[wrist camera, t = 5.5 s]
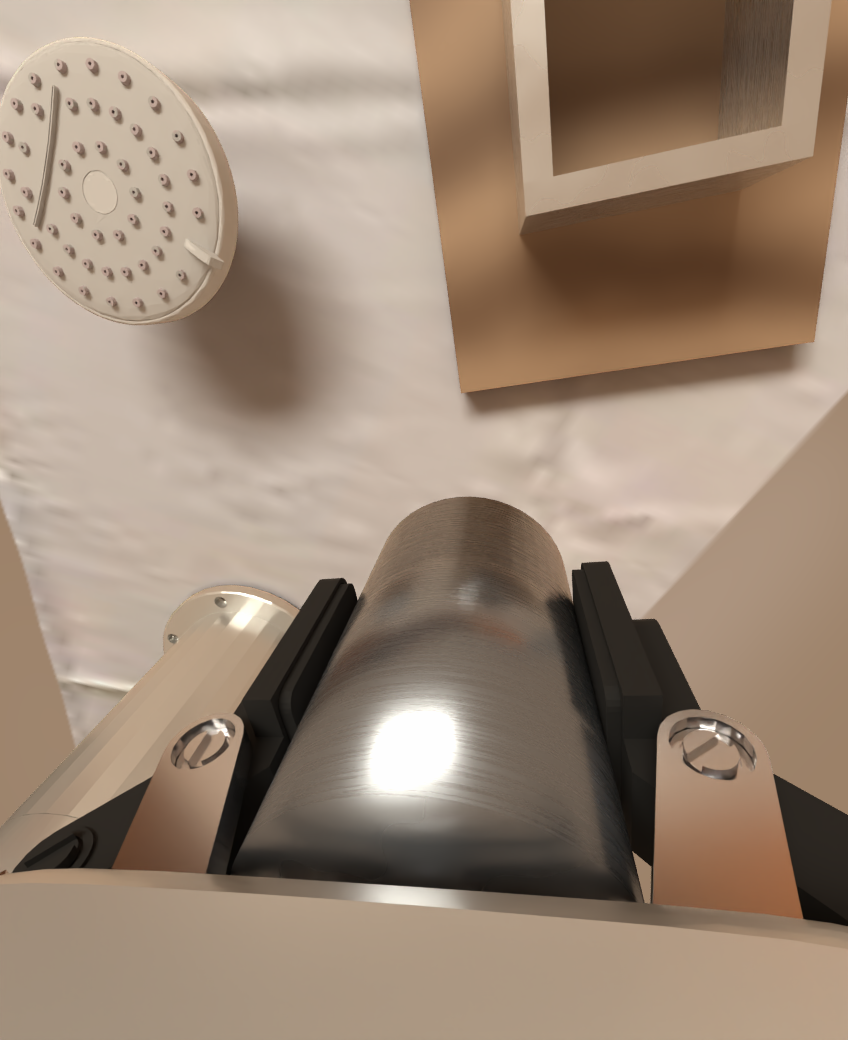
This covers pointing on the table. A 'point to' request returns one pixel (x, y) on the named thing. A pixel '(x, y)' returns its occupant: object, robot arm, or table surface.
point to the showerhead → (116, 182)
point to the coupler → (453, 728)
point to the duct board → (630, 177)
